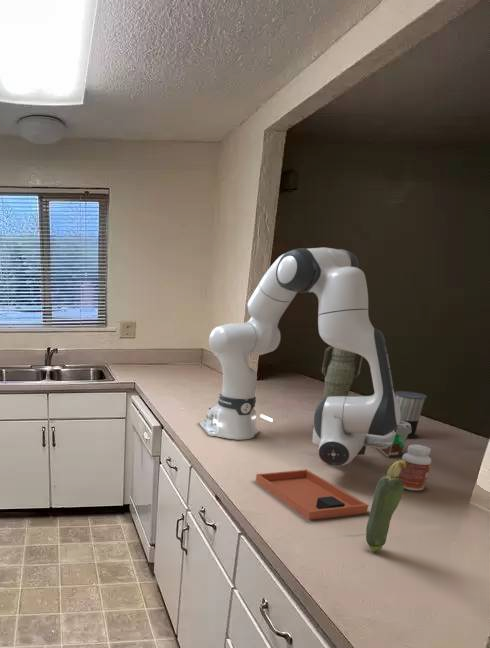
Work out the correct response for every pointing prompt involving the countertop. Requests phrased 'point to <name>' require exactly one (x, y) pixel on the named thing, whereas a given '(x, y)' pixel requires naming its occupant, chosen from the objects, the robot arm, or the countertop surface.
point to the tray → (309, 494)
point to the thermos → (339, 372)
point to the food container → (398, 439)
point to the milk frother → (410, 408)
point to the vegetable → (384, 506)
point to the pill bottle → (415, 467)
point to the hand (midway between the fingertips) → (356, 427)
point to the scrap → (328, 503)
